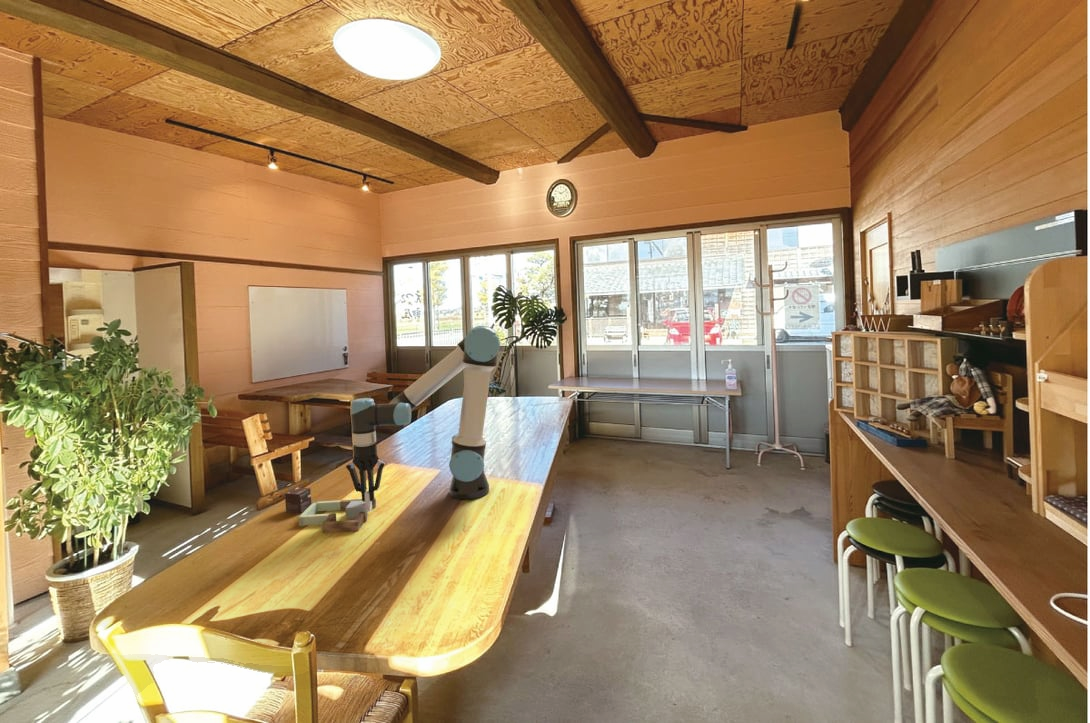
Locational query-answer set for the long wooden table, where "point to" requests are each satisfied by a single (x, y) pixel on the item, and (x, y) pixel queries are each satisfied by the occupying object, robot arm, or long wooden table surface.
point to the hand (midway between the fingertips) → (368, 509)
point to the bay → (317, 519)
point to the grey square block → (355, 509)
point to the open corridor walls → (345, 526)
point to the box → (297, 500)
